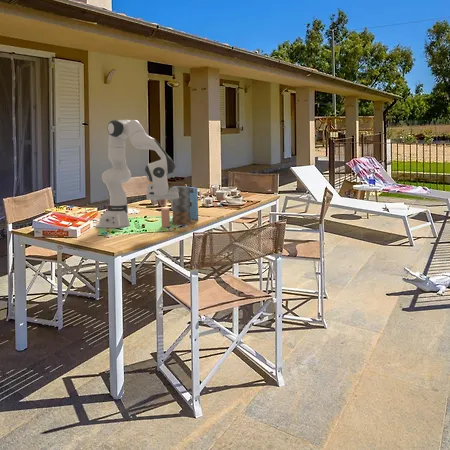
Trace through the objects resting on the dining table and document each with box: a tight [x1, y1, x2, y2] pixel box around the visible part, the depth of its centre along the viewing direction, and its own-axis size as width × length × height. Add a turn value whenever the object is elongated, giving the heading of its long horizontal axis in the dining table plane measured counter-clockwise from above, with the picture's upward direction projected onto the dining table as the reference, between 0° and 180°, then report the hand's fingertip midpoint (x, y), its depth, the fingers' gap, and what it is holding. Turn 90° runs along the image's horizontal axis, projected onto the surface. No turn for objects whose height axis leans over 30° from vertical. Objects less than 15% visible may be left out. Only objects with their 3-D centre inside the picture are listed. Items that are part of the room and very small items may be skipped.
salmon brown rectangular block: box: [160, 207, 171, 228], centre depth 337 cm, size 5×4×12 cm
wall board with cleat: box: [171, 186, 191, 226], centre depth 345 cm, size 12×9×25 cm
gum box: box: [174, 185, 199, 220], centre depth 366 cm, size 20×5×23 cm, turn 56°
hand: (163, 202), depth 322 cm, fingers open, 8 cm apart
